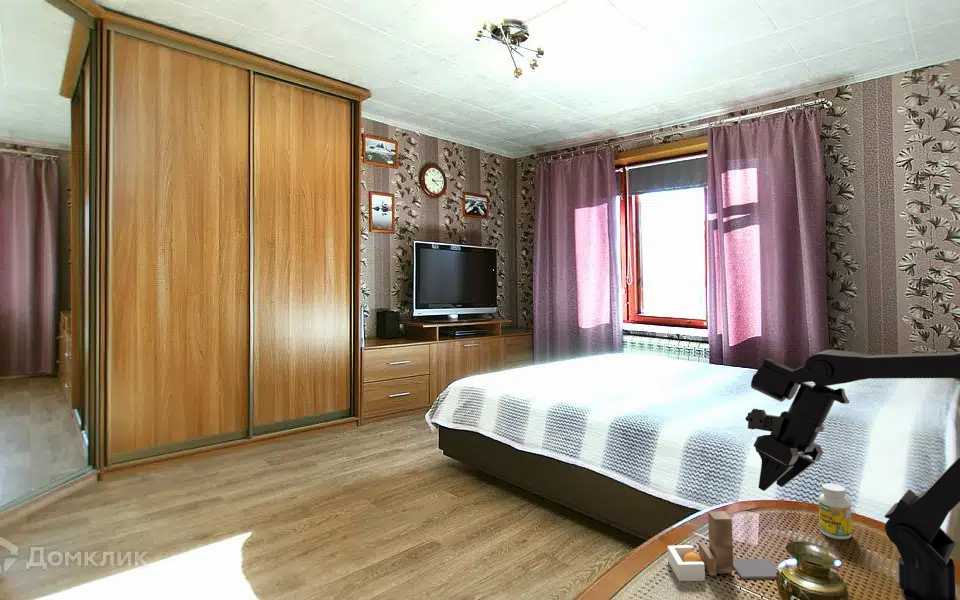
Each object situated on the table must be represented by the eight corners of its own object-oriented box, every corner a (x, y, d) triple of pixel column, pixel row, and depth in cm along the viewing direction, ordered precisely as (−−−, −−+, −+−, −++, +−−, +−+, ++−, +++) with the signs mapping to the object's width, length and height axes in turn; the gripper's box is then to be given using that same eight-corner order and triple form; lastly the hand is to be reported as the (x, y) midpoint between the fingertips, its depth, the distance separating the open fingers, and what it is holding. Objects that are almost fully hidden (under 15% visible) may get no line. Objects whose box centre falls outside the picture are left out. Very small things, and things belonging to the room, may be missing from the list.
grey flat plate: (769, 560, 96) (769, 558, 96) (785, 578, 90) (785, 575, 90) (728, 561, 96) (728, 559, 96) (741, 578, 91) (741, 576, 91)
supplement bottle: (856, 534, 103) (855, 487, 103) (845, 543, 100) (844, 495, 100) (826, 524, 108) (824, 479, 107) (814, 532, 105) (813, 486, 104)
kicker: (723, 557, 96) (721, 508, 96) (736, 575, 91) (734, 522, 90) (699, 558, 96) (697, 508, 96) (710, 575, 91) (708, 522, 90)
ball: (678, 554, 94) (681, 571, 94) (692, 560, 92) (696, 577, 92) (689, 546, 96) (692, 563, 96) (704, 552, 93) (707, 569, 93)
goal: (692, 560, 97) (691, 545, 97) (705, 580, 91) (704, 564, 90) (668, 561, 97) (667, 545, 97) (679, 581, 91) (678, 564, 91)
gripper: (780, 395, 107) (748, 461, 109) (744, 391, 95) (710, 465, 97) (838, 423, 99) (803, 493, 101) (808, 422, 87) (768, 502, 89)
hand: (770, 487), depth 97 cm, fingers open, 9 cm apart
